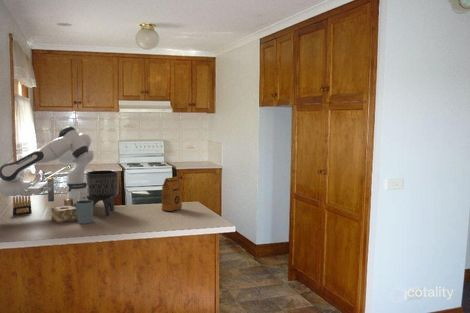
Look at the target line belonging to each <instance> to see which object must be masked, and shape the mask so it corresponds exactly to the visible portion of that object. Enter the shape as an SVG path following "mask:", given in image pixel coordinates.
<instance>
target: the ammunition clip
mask: <svg viewBox="0 0 470 313" xmlns="http://www.w3.org/2000/svg"><path fill="white" fill-rule="evenodd" d="M18 196H19V197H18ZM12 197H13V198H12V216H20V215H28V214H32V213H33V212H32V203H31V202H32V200H31V196H20V195H17V196H12Z"/></svg>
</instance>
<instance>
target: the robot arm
mask: <svg viewBox="0 0 470 313" xmlns="http://www.w3.org/2000/svg"><path fill="white" fill-rule="evenodd" d="M91 141H92V138H91V137H90V135H89V134H87V133H85V132H84V133H79V132H78V131H76V128H75V127H74V126H72V125H67V126H65V127H63V128H61V129H60V131H59V133H58V137H57V138H55V139H52V140H51V141H49V142H47V143H46V144H44V145H42V146H40V147H39V148H38V149H36V150H35V151H33V152H31V153H29V154H28V155H25V156H23V157H21V158H20V159H18V160H16V161H13V162H9V163H5V164H2V165H1V166H0V179H1V180H0V195H1V196H6V197H16V196H17V197H18V196H21V197H22V196H24V197H25V196H27V197H28V196H30V197H31V196H32V195H40V194H42V193H43V192H48V190H51V189H52V188H51V187H48V182H47V181H45V182H44V181H35V180H24V176H25V172H24V170H26V169H27V168H28V169H29V167H32V166H33V165H37V164H48V163H51V162H54V161H57V163H58V164H62V165H72V164H73V165H75V166H74V167H73V168H70V170H68V171H67V183H66V191H67V194H66V199H69V198H71V199H73V201H74V205H76V204H75V202H77V201H82V200H88V191H87V182H85V171H86V168H87V166H88V165H89V164H90V163H91V162H92V161H93V160H94V158H95V154H94V150H92V148H90V147H91V144H92V142H91Z"/></svg>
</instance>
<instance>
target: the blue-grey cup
mask: <svg viewBox="0 0 470 313" xmlns="http://www.w3.org/2000/svg"><path fill="white" fill-rule="evenodd" d="M74 205H75V208H76V212H77V220H76V221H77V224H89V223H90V224H91V223H92V222H94V209H93V201H92V200H82V201H77V202H75V204H74Z"/></svg>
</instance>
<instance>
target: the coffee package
mask: <svg viewBox="0 0 470 313" xmlns="http://www.w3.org/2000/svg"><path fill="white" fill-rule="evenodd" d="M182 203H183V202H182V190H181V187H180V185H179V182H178V176H173V177H166V178H165V179H164V182H163V184H162V187H161V210H162V211H166V212H173V211H178V210H182V206H183V205H182Z"/></svg>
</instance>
